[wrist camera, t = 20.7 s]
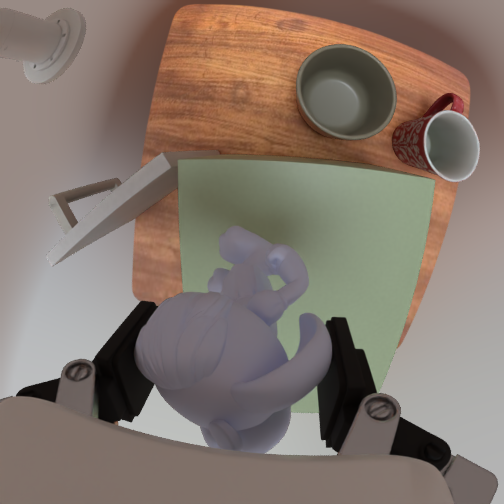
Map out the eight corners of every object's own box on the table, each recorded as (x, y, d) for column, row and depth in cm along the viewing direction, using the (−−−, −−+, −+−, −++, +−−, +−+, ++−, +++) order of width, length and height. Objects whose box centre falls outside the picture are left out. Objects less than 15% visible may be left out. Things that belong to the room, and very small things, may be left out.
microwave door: (111, 186, 47) (23, 215, 26) (198, 119, 42) (131, 101, 21) (132, 220, 49) (51, 267, 28) (222, 158, 43) (171, 167, 23)
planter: (353, 155, 41) (374, 158, 31) (280, 120, 41) (279, 111, 31) (383, 90, 37) (409, 75, 27) (311, 54, 36) (319, 28, 26)
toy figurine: (215, 202, 17) (97, 306, 6) (320, 235, 17) (372, 389, 6) (192, 300, 19) (111, 446, 8) (282, 328, 19) (272, 494, 8)
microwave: (213, 312, 53) (177, 399, 33) (212, 154, 44) (151, 160, 23) (345, 320, 51) (370, 411, 30) (368, 164, 41) (435, 179, 21)
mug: (423, 181, 41) (466, 195, 28) (378, 155, 41) (414, 159, 28) (446, 117, 37) (493, 113, 24) (404, 89, 36) (443, 72, 24)
